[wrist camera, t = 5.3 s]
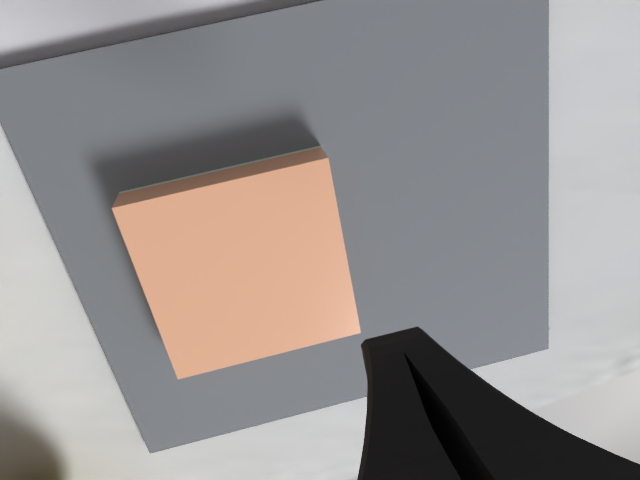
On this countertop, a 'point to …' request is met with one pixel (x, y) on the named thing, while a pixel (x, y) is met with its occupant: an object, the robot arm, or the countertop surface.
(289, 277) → the tile
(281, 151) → the mat
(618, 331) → the countertop surface
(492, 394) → the robot arm
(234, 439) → the countertop surface
